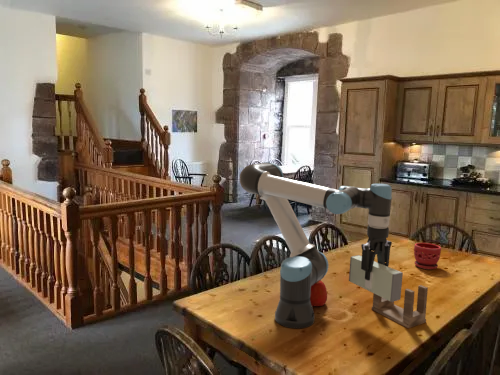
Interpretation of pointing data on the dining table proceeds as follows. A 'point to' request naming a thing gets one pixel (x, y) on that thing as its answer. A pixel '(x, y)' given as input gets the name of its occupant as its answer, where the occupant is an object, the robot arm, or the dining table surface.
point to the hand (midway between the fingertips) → (373, 286)
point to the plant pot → (427, 255)
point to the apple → (318, 294)
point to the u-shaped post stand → (407, 314)
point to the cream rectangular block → (377, 279)
